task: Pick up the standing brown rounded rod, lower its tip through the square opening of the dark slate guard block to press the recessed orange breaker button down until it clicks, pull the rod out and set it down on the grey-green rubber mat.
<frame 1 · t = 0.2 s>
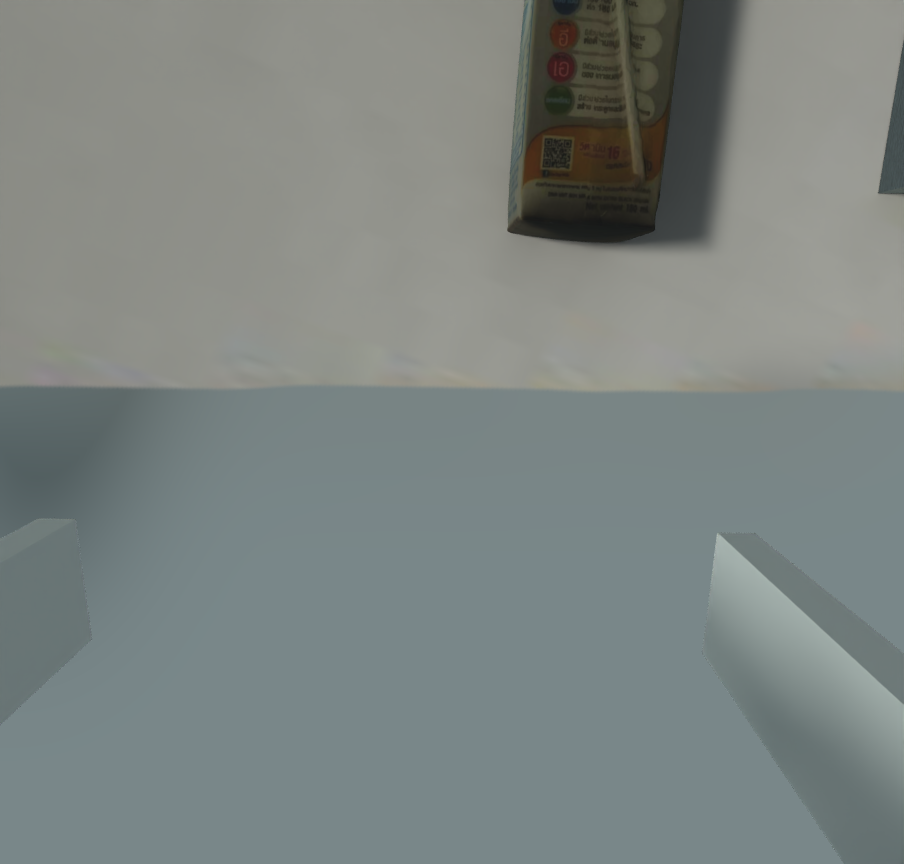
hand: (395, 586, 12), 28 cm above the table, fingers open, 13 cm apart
beverage carton: (580, 76, 35), on the table
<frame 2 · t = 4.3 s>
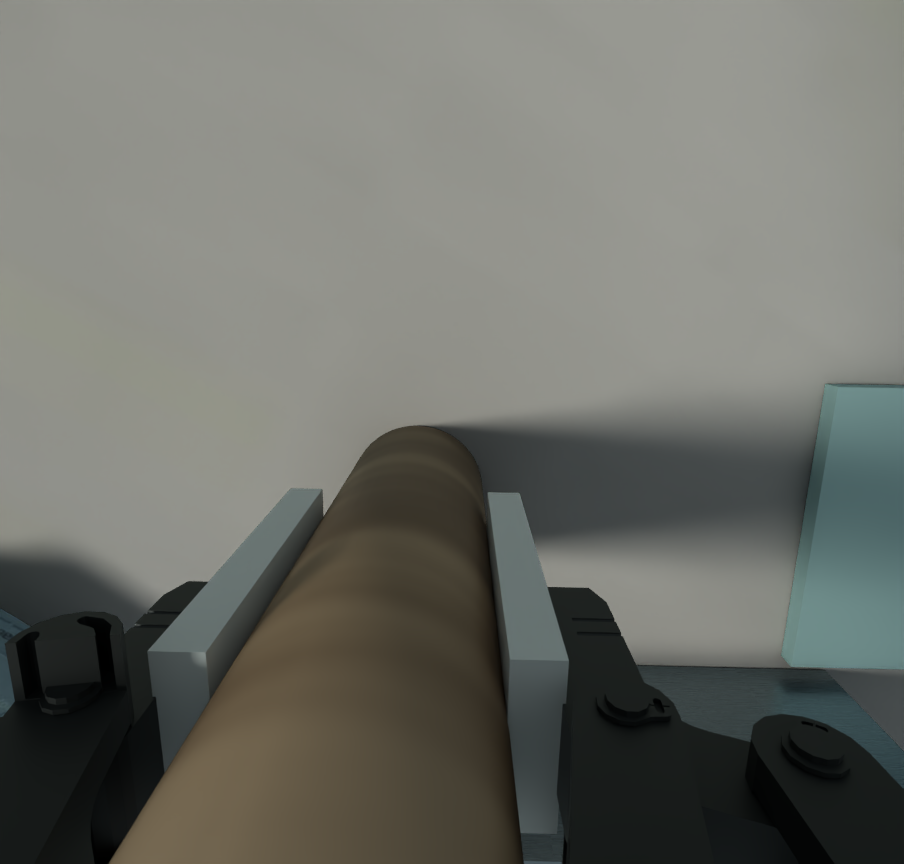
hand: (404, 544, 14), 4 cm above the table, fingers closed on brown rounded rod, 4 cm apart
brown rounded rod: (417, 488, 18), on the table, touching gripper
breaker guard: (612, 826, 21), on the table
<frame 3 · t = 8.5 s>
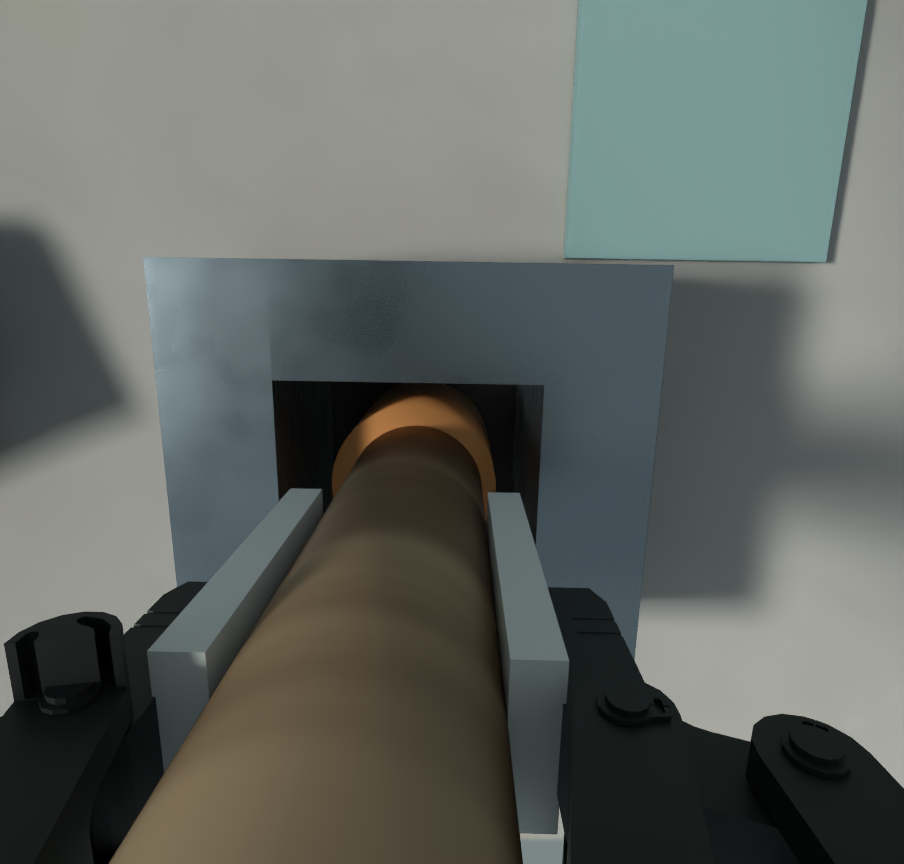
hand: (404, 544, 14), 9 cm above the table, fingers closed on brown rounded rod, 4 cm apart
brown rounded rod: (416, 489, 18), point 5 cm above the table, touching breaker button, gripper
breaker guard: (423, 445, 23), on the table
breaker button: (419, 463, 20), point 2 cm above the table, slide at 1.2 cm, touching brown rounded rod
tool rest: (704, 123, 20), on the table
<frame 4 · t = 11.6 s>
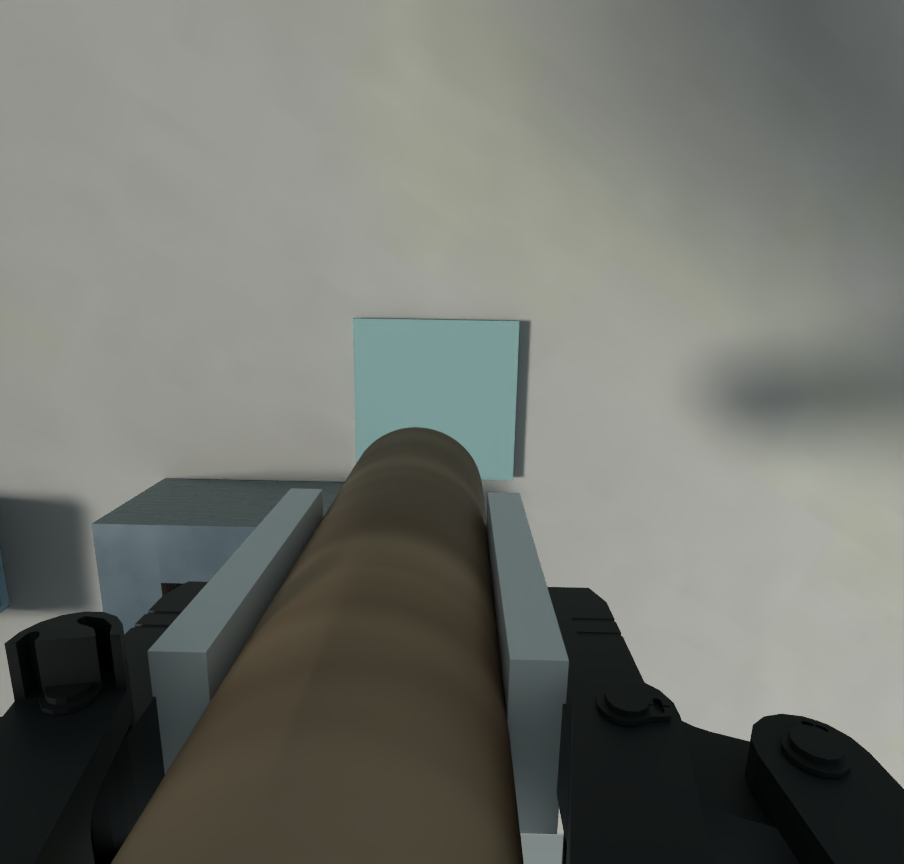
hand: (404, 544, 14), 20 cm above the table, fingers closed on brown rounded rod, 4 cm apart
brown rounded rod: (416, 490, 18), point 16 cm above the table, touching gripper
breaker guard: (279, 581, 36), on the table
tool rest: (435, 399, 33), on the table
when the fingers open (6 cm above the table, at t = 14.2 s): brown rounded rod drops 1 cm, resting on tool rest.
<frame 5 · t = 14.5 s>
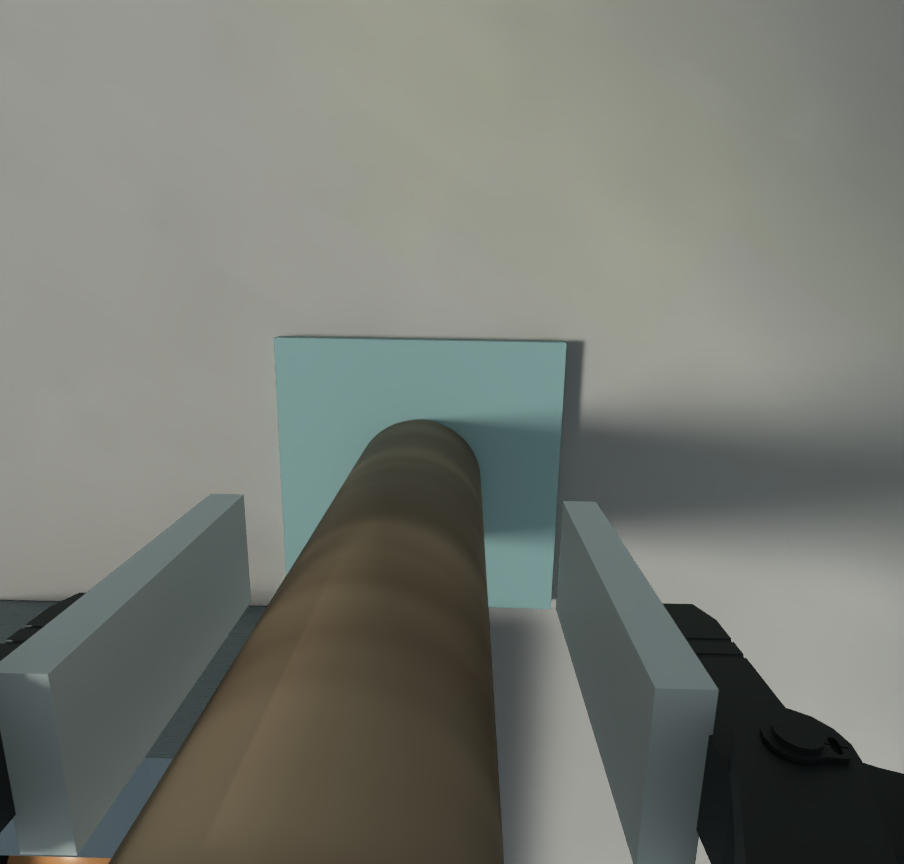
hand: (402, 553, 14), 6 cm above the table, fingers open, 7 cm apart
brown rounded rod: (418, 479, 19), point 1 cm above the table, touching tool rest
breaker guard: (170, 758, 22), on the table
breaker button: (135, 814, 20), point 2 cm above the table, slide at 1.2 cm
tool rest: (420, 474, 20), on the table
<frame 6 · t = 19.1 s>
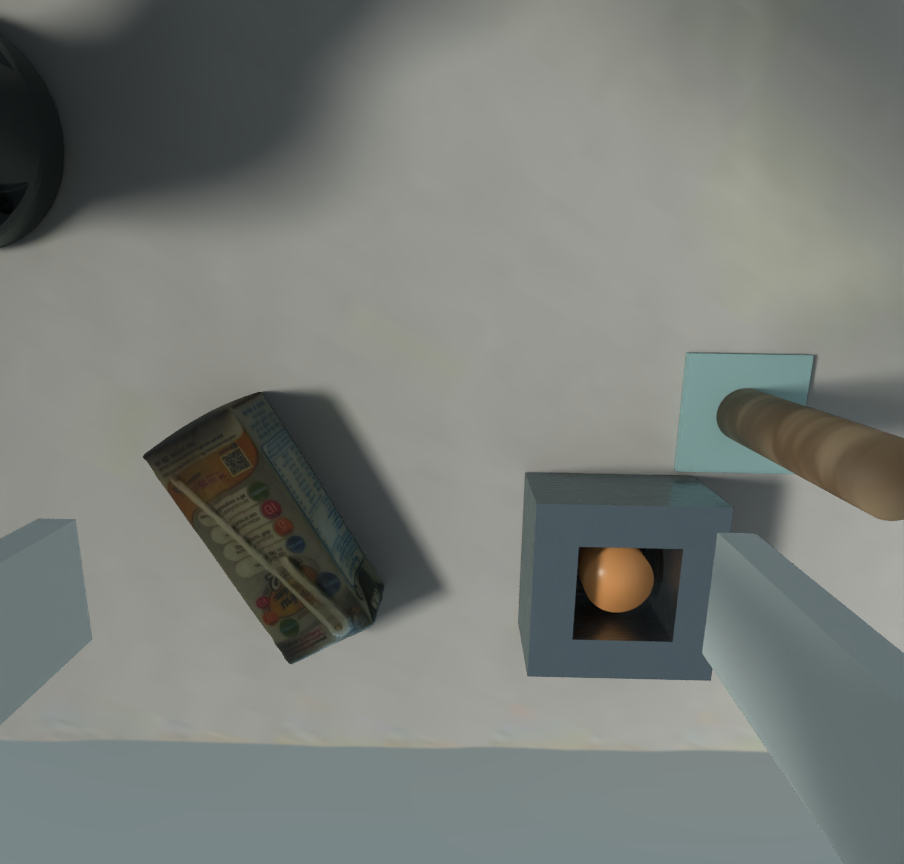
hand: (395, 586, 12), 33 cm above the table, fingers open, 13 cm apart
beverage carton: (287, 511, 47), on the table
brown rounded rod: (743, 414, 44), point 1 cm above the table, touching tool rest
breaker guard: (602, 551, 47), on the table
breaker button: (610, 565, 45), point 2 cm above the table, slide at 1.2 cm
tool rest: (739, 413, 44), on the table
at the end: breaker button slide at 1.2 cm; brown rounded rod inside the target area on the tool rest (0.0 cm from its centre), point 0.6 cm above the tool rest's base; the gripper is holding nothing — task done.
